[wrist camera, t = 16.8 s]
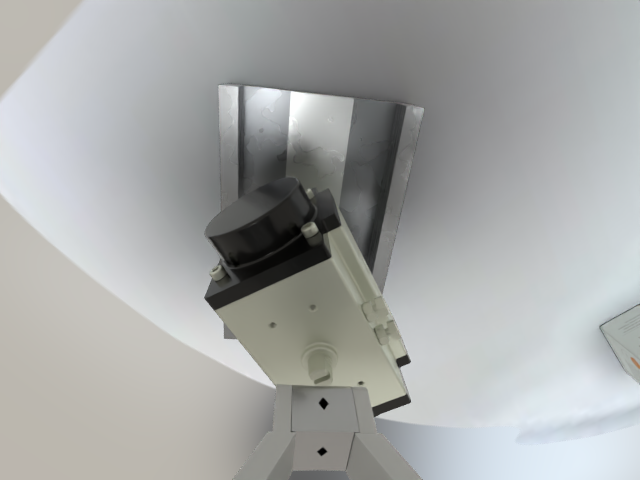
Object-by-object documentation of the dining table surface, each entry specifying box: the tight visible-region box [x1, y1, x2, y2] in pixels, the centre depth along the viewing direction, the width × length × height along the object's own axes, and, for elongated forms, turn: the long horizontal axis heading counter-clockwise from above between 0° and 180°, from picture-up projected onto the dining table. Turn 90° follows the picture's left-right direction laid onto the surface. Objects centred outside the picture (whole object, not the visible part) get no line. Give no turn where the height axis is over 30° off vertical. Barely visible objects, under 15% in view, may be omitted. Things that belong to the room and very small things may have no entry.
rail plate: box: [218, 83, 425, 339], centre depth 23 cm, size 17×11×3 cm, turn 174°
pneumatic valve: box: [204, 177, 411, 417], centre depth 18 cm, size 6×12×12 cm, turn 26°
